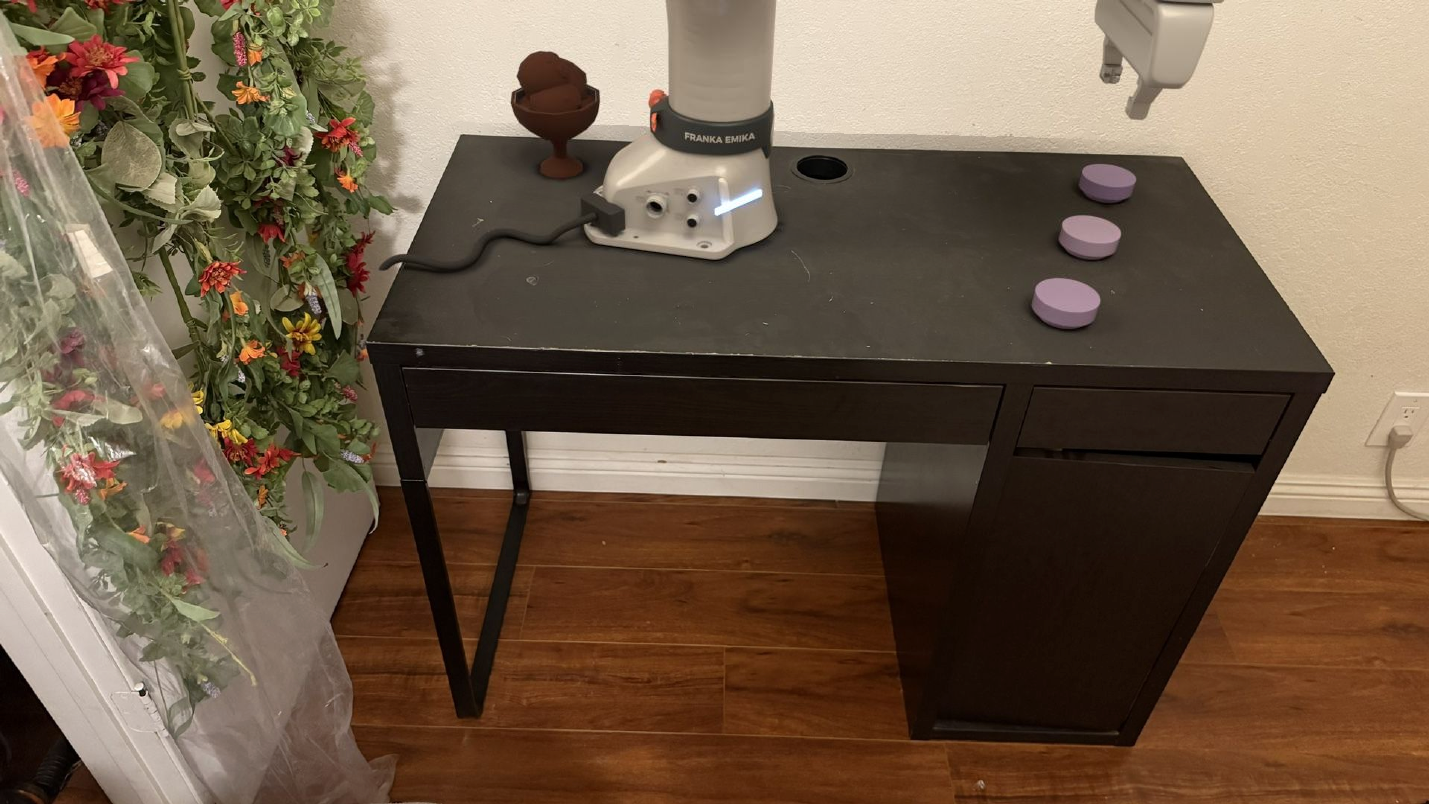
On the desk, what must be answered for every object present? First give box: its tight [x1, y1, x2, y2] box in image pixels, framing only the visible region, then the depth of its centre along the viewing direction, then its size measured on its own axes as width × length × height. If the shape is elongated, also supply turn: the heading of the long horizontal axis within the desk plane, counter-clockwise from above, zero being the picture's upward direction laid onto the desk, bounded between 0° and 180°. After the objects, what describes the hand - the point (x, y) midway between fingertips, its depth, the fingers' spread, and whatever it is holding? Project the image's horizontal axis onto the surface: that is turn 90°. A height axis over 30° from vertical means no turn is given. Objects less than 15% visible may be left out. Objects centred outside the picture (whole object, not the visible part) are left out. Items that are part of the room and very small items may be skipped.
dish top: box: [1058, 215, 1122, 261], centre depth 112 cm, size 6×6×3 cm
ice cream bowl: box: [510, 50, 601, 179], centre depth 121 cm, size 11×11×15 cm
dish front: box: [1031, 277, 1101, 330], centre depth 101 cm, size 6×6×3 cm
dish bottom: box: [1078, 163, 1137, 204], centre depth 123 cm, size 6×6×3 cm
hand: (1120, 98), depth 102 cm, fingers open, 8 cm apart
